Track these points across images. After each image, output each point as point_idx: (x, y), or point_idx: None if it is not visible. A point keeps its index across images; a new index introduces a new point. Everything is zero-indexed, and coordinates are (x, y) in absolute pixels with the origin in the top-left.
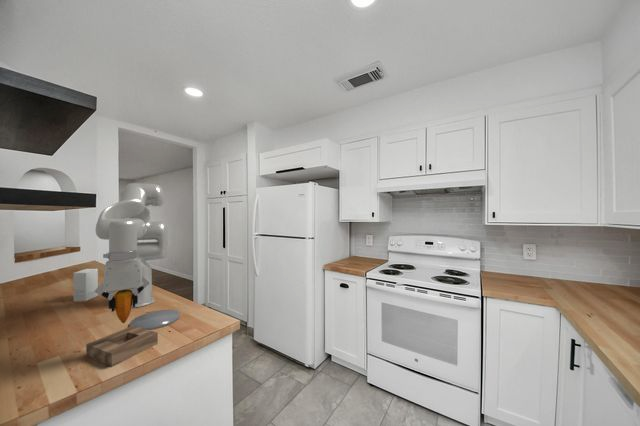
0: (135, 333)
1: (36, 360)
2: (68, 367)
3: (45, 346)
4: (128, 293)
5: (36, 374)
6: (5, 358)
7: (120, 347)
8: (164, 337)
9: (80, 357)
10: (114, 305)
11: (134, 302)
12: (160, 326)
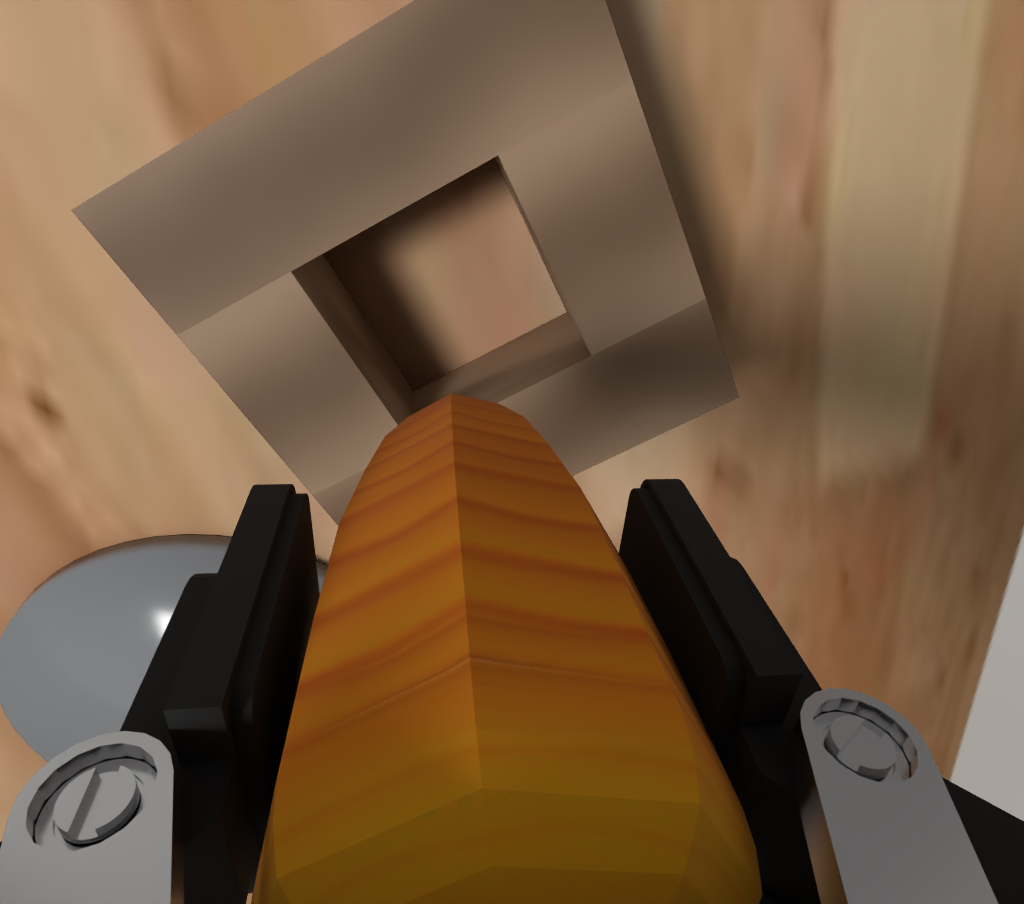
0: (339, 359)
1: (916, 492)
2: (812, 238)
3: (846, 645)
4: (352, 831)
5: (966, 278)
6: (1000, 608)
7: (480, 46)
8: (78, 291)
9: (727, 361)
10: (652, 597)
11: (241, 554)
12: (156, 543)
